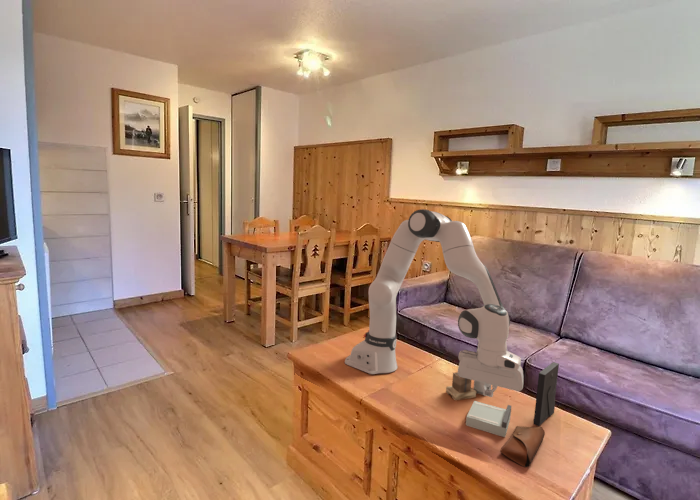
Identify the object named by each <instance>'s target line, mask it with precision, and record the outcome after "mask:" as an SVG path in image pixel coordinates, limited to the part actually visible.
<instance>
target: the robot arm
mask: <svg viewBox="0 0 700 500" xmlns="http://www.w3.org/2000/svg"><path fill="white" fill-rule="evenodd" d="M424 241H429V242H435V243H440V246H441V250H442V255H443V260H444V264H445V265H446V268H447V269H448V271H449V272H450V273H452V274H454V275H456V276H458V277H462V278H464V279H466V280H468V281H470V282H472V283H473V284H474V285H475V287H476V288H477V290H478V292H479V295H480V297H481V300H482V303H483V306H482V307H478V308H477V307H476V308H469V309H465V310H463V311H461V312H460V314H459V316H458V319H457V326H458V329H459V331H460V333H461V334H462V335H463V336H465V337H466V338H469V339H476V340H477V341H478V342H477V344H478V351H477V350H476V351H472V350H468V349H463V350H460V351H459V353H458V361H459V364H458V367H457V372H458V375H459V377H462V378H466V379H470V380H471V381H474V380H475V381H479V382H480V385H481V387H482V389H483V396H486V397H490V398H493V396H494V392H495V391H497V389H498V387H499V388H504V389H508V390H513V391H515V392H521V391H522V390H523V388H524V370H523V368H522V366H521V364H522V358H521V357H520V356H519V355H517V354H515V353H512V352H510V351H509V350H508V346H507V340H508V337H509V331H510V329H509V328H510V325H511V320H510V319H511V318H510V316H509V312H508V311H507V310H506V308H505V307H504V305H503V303H502V301H501V299H500V296H499V293H498V290H497V288H496V285H495V282H494V281H493V278H492V276H491V273H490V272H489V269H488V268H487V266H486V265H485V264H484V263H482V261H481V259H480V258H479V256H478V254H477V253H476V249H475V246H474V242H473V238H472V237H471V234H470V231H469V228H468V227H467V226H466V224H465V223H464V222H462V221H459V220H452V219H451V218H450V217H449V216H447V215H444V214H443V213H440V212H437V211H433V210H432V211H431V210H429V209H424V208H421V209H416V210H414V211H413V212H411V214H410V216H409V217H408V219H405V220H403V221H402V222H401V223H400V225H399V226H398V228H397V229H396V231H395V232H394V234H393V236H392V238H391V240H390V243H389V245H388V248H387V249H386V251H385V253H384V257H383V259H382V262H381V265H380V268H379V270H378V272H377V274H376V276H375V279H374V280H373V281H372V282H371V283H370V285H369V287H368V308H369V326H368V331H367V332H365V333H364V334H363V335H362V336H363V337H362V338H364V340H362V341H361V342H359V343H357V344H356V345H354V346H353V347H352V349H351V352H350V354H349V355H348V356H347V357H345V360H344V364H345V365H347V366H349V367H352V368H355V369H357V370H360V371H362V372H365V373H368V374H369V375H375V374H389V373H392V372H395V371H396V370H397V369H398V362H397V358H396V357H397V356H396V347H397V334H396V330H397V295H398V293H399V291H400V290H401V289H400V288H401V286H402V285H403V282H404V280H405V277H406V275H407V273H408V271H409V269H410V266H411V264H412V262H413V260H414V259H415V256H416V254H417V251H418V249H419V247H420V244H421V243H422V242H424ZM486 383H487V384H491V390H489V389H486V387H485V384H486Z"/></svg>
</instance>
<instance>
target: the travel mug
mask: <svg viewBox="0 0 700 500" xmlns="http://www.w3.org/2000/svg"><path fill="white" fill-rule="evenodd" d="M476 346H477V347H476V352H477V351H478V343H477V345H476ZM473 381H474V382H473V389H474V390H475V391H476V394H478V395H483V389H482V387H481V385H480V382H479V381H475V380H473ZM485 387H486V389H489V390H492V385H491V384H487V383H486V384H485ZM483 396H484V395H483Z"/></svg>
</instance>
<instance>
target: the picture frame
mask: <svg viewBox="0 0 700 500" xmlns="http://www.w3.org/2000/svg"><path fill="white" fill-rule="evenodd" d="M559 366H560V365H559V363H558V362H551V363H550V364H549V365H547V366H546V367H545V368H544V369H542V370H541V371H540V372H539V373H538V380H537V389H536V396H535V406H534V407H535V408H534V416H533V425H535V426H537V427H541V426H542V425H543V423H544V422H545V421H546V420H547V419H548V418H550V417H552V415H553V414H555V408H556V393H557V392H556V391H557V383H558V375H559Z"/></svg>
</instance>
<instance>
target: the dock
mask: <svg viewBox="0 0 700 500" xmlns="http://www.w3.org/2000/svg"><path fill="white" fill-rule="evenodd" d="M511 414H512V405H510V404H507V406H506V408H503V407H500V406H499V407H498V406H495V405H491V404H489V403H488V404H487V403H484V402H480V401H477V400H473V403H472V405H471V406H470V408H469V411H468V413H467V415H466V419H465V426H467V427H470V428H473V429H476V430H479V431H483V432H487V433H490V434H493V435H496V436H500V437H501V438H506V436H507V432H508V429H509V425H510V422H511Z"/></svg>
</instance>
